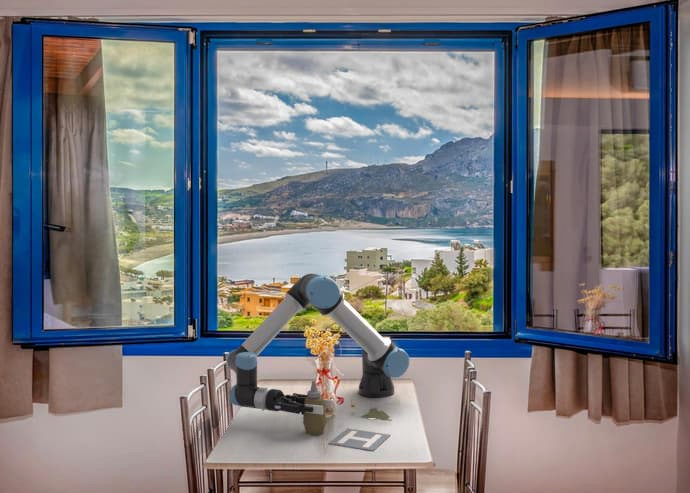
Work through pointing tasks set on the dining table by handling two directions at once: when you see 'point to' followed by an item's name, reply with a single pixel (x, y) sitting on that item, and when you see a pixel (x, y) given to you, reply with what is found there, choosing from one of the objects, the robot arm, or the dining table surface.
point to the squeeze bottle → (310, 420)
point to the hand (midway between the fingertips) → (327, 407)
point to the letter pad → (359, 439)
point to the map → (377, 414)
